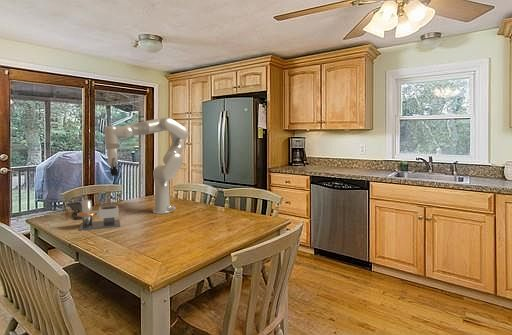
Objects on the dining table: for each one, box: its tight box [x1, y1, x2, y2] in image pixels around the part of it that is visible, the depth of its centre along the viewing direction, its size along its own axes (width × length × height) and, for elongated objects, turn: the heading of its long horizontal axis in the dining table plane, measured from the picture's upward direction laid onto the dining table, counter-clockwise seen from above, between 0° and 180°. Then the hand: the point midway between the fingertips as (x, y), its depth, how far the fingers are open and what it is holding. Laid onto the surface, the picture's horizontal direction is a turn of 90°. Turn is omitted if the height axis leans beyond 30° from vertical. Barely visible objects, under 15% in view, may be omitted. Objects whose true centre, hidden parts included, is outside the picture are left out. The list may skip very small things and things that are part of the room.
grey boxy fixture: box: [77, 199, 121, 232], centre depth 177 cm, size 22×13×15 cm, turn 116°
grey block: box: [102, 204, 116, 224], centre depth 179 cm, size 6×3×10 cm, turn 117°
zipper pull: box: [67, 201, 83, 221], centre depth 200 cm, size 9×7×25 cm
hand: (114, 174), depth 190 cm, fingers open, 9 cm apart
